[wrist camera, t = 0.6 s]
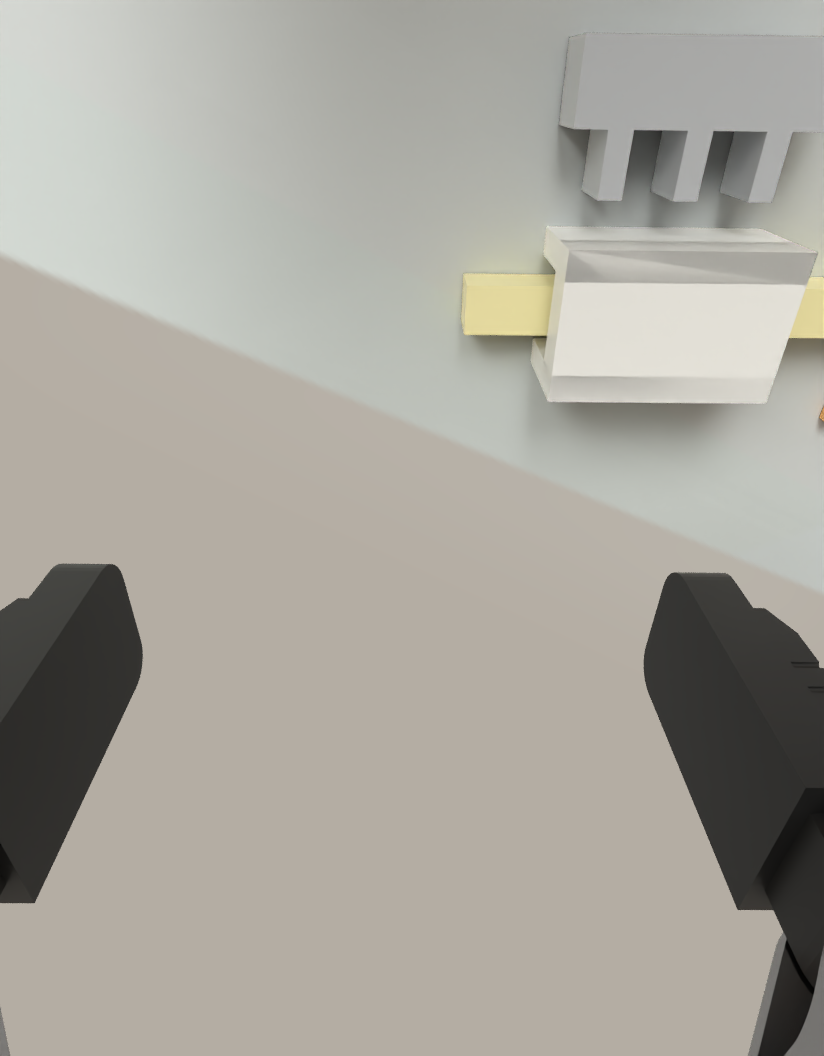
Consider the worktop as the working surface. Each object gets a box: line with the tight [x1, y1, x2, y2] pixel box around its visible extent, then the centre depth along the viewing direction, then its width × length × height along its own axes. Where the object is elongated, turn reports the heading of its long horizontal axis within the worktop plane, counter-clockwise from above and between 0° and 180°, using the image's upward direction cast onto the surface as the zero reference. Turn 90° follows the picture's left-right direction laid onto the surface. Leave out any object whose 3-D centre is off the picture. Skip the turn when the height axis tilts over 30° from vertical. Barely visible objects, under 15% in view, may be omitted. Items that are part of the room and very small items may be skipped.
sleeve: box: [530, 226, 818, 404], centre depth 24 cm, size 5×8×4 cm, turn 89°
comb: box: [559, 33, 824, 203], centre depth 21 cm, size 4×8×2 cm, turn 89°
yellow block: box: [461, 273, 824, 338], centre depth 25 cm, size 2×22×2 cm, turn 89°
